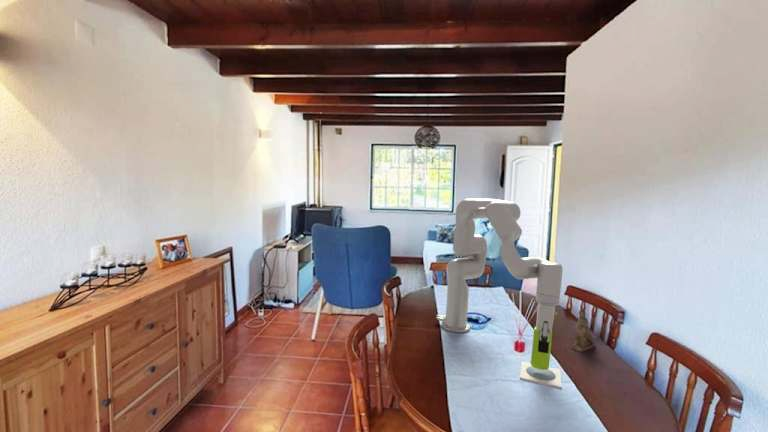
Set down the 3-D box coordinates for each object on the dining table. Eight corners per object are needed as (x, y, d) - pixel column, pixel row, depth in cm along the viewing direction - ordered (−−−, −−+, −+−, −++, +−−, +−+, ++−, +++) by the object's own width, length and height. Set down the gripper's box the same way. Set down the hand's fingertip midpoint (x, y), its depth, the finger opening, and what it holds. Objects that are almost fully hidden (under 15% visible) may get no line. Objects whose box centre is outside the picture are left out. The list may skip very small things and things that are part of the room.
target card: (519, 379, 130) (519, 377, 130) (521, 362, 142) (522, 360, 142) (561, 388, 125) (561, 386, 125) (560, 370, 137) (560, 369, 137)
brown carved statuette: (580, 357, 154) (580, 317, 150) (568, 352, 159) (567, 312, 155) (597, 346, 160) (597, 307, 156) (585, 341, 165) (584, 302, 161)
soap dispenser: (553, 371, 130) (559, 314, 128) (532, 368, 131) (537, 311, 129) (549, 363, 136) (555, 308, 134) (529, 360, 137) (534, 306, 135)
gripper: (536, 289, 140) (532, 337, 142) (535, 303, 125) (530, 356, 126) (558, 293, 138) (554, 341, 139) (560, 307, 122) (555, 361, 124)
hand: (542, 347), depth 133 cm, fingers closed on soap dispenser, 5 cm apart
